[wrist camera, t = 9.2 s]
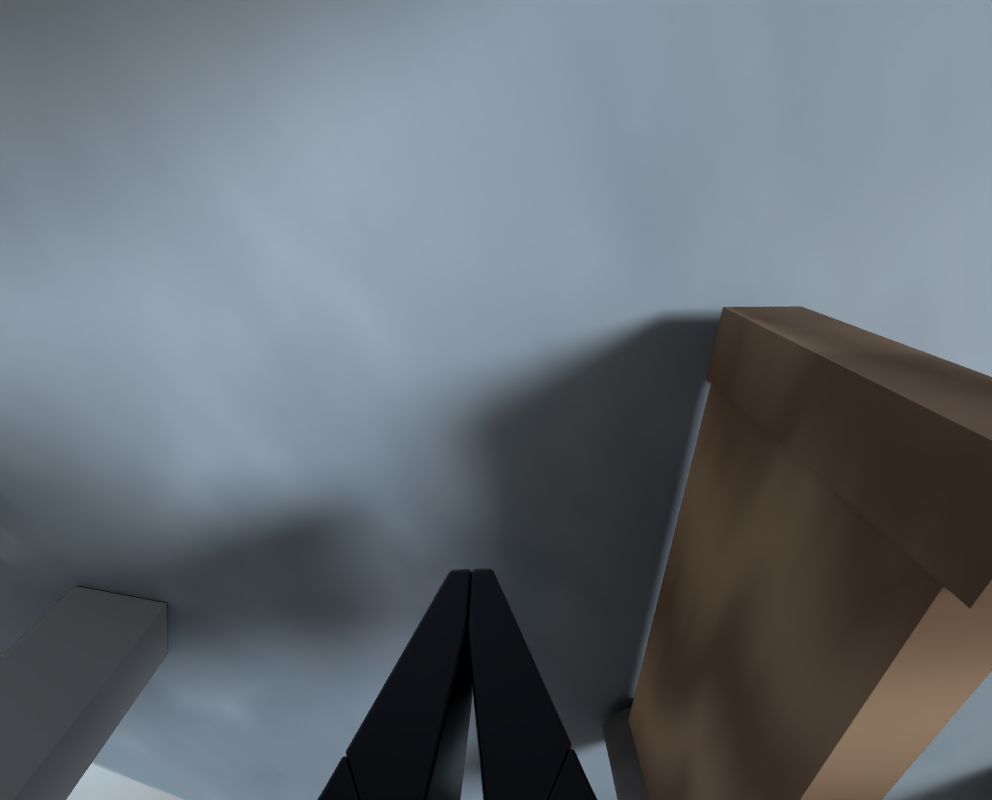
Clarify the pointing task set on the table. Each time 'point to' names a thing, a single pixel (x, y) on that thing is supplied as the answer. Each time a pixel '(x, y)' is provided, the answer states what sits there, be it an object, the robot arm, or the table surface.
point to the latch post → (73, 687)
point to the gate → (816, 570)
